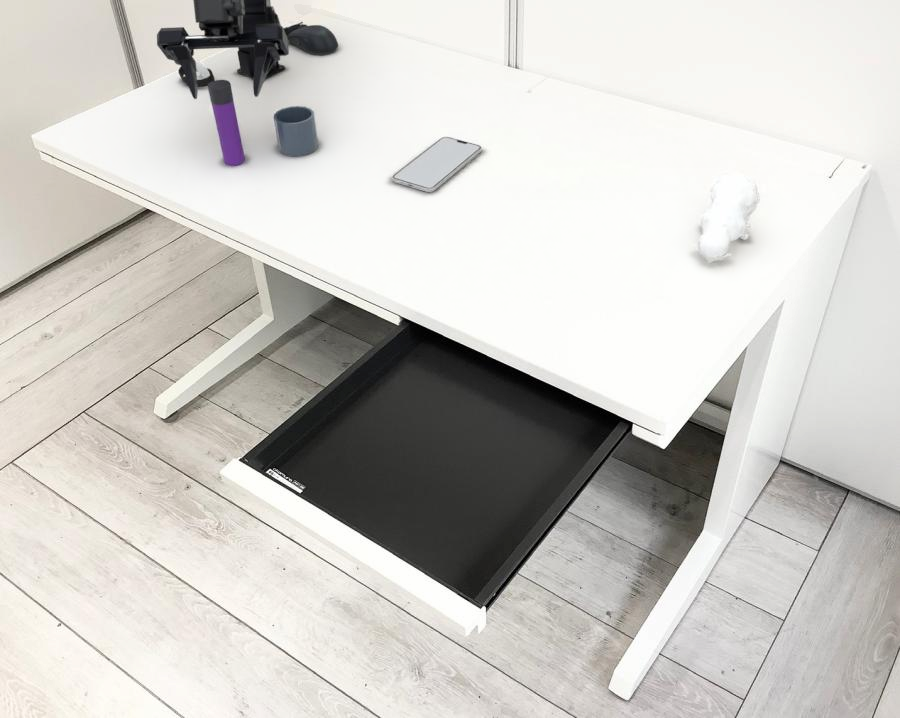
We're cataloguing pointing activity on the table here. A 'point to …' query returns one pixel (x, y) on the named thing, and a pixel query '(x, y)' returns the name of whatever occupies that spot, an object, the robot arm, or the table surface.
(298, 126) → the pen holder
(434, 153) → the smartphone
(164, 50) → the robot arm
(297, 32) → the computer mouse
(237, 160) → the glue stick
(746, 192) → the white animal figurine
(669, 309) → the table surface
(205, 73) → the watch
